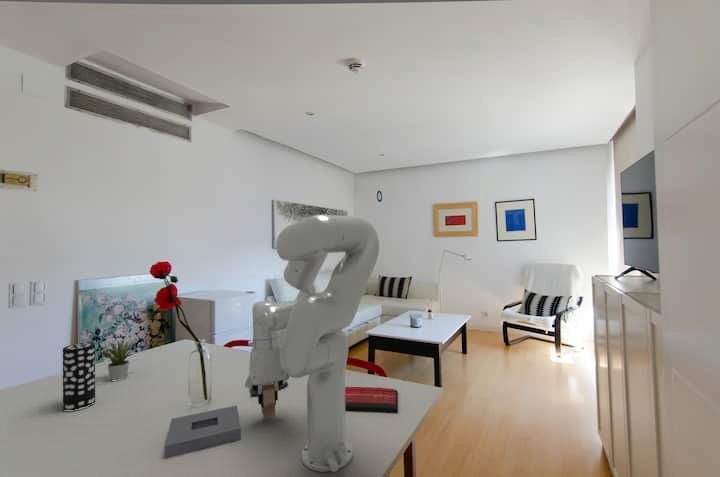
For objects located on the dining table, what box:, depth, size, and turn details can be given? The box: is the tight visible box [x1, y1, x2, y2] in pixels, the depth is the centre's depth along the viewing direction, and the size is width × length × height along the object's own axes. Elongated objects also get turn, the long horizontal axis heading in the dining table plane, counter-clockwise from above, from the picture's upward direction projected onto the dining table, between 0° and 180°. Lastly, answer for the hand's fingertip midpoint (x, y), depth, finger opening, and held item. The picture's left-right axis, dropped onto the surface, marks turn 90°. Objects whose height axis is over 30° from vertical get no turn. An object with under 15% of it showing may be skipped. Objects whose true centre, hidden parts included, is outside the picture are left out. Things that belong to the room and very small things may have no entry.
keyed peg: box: [261, 382, 276, 420], centre depth 99 cm, size 5×3×8 cm, turn 24°
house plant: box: [98, 337, 141, 381], centre depth 135 cm, size 14×14×16 cm
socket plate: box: [164, 404, 242, 459], centre depth 92 cm, size 14×18×3 cm
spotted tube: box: [62, 341, 96, 410], centre depth 111 cm, size 8×8×20 cm
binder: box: [345, 386, 399, 414], centre depth 110 cm, size 16×2×21 cm
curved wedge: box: [249, 380, 289, 398], centre depth 120 cm, size 8×14×2 cm, turn 111°
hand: (268, 403), depth 99 cm, fingers closed on keyed peg, 2 cm apart
